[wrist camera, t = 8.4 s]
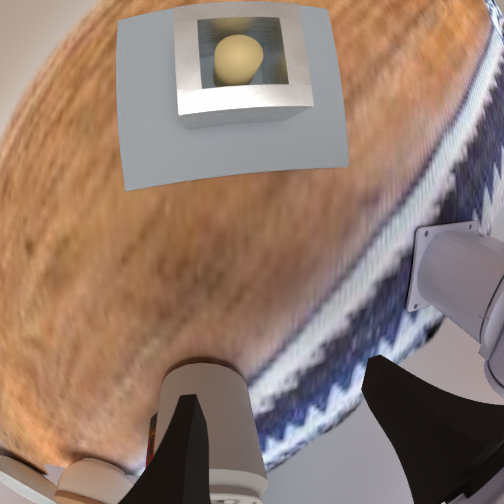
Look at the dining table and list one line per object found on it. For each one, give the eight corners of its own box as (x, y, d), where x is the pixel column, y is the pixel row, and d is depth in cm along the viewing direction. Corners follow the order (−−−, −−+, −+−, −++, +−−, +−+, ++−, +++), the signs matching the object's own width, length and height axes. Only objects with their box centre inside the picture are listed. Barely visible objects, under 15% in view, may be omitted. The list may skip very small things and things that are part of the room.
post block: (321, 14, 13) (352, -17, 9) (342, 166, 17) (384, 171, 13) (122, 26, 12) (99, -7, 7) (130, 189, 16) (101, 201, 11)
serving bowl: (66, 497, 32) (63, 517, 25) (-4, 456, 25) (-10, 474, 19) (78, 485, 29) (74, 511, 22) (-11, 431, 22) (-21, 454, 16)
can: (155, 355, 20) (135, 489, 9) (248, 353, 21) (281, 487, 10) (169, 411, 22) (165, 520, 11) (245, 409, 23) (268, 517, 12)
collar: (274, 41, 13) (297, 4, 8) (283, 121, 15) (313, 106, 10) (182, 46, 12) (173, 7, 8) (188, 129, 14) (178, 114, 10)
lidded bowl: (102, 445, 24) (89, 515, 13) (160, 483, 28) (159, 540, 18) (51, 447, 23) (35, 501, 13) (105, 484, 28) (99, 532, 18)
